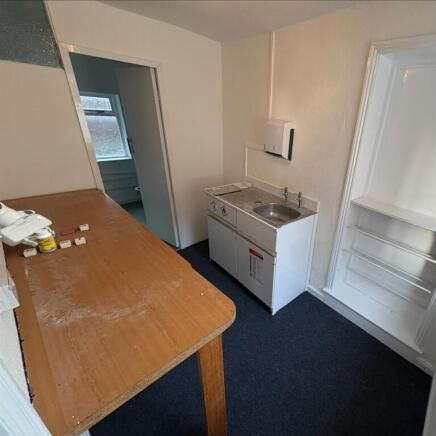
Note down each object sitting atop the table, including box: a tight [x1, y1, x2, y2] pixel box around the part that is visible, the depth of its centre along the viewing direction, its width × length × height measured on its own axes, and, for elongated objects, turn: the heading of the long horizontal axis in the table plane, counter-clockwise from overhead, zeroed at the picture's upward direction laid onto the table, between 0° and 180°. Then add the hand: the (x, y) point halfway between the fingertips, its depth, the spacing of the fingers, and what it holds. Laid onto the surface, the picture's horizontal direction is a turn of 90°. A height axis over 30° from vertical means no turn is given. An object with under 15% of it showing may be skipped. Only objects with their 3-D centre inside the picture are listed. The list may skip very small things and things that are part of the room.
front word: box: [23, 236, 87, 258], centre depth 112 cm, size 21×4×2 cm, turn 132°
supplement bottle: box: [35, 229, 58, 253], centre depth 109 cm, size 6×6×10 cm
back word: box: [29, 223, 90, 241], centre depth 124 cm, size 25×5×2 cm, turn 132°
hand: (45, 240), depth 108 cm, fingers open, 8 cm apart
